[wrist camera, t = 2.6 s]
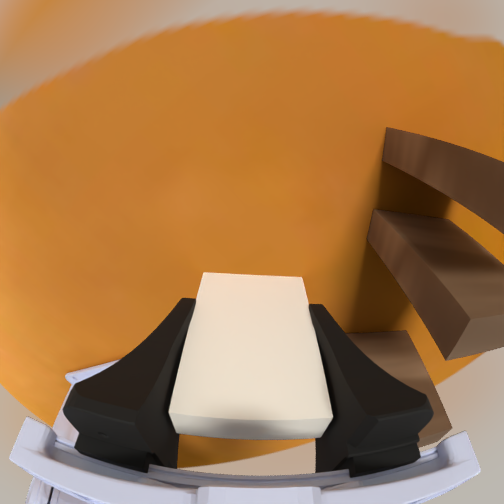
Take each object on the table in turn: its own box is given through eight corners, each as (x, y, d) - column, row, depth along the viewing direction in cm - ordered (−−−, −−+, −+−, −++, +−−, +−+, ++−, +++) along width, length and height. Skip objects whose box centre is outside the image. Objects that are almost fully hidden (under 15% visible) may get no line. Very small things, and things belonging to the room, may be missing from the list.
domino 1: (297, 301, 15) (320, 437, 8) (204, 297, 15) (176, 433, 8) (301, 277, 14) (333, 417, 7) (203, 272, 14) (168, 412, 7)
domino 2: (458, 178, 12) (570, 248, 5) (382, 160, 11) (506, 235, 4) (463, 149, 11) (582, 206, 4) (386, 127, 11) (523, 171, 4)
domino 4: (397, 346, 17) (437, 441, 10) (333, 350, 17) (359, 461, 10) (406, 330, 17) (452, 427, 9) (339, 333, 16) (371, 450, 9)
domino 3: (440, 245, 13) (525, 339, 6) (366, 239, 13) (445, 360, 6) (448, 219, 13) (544, 306, 6) (373, 209, 13) (470, 318, 6)
